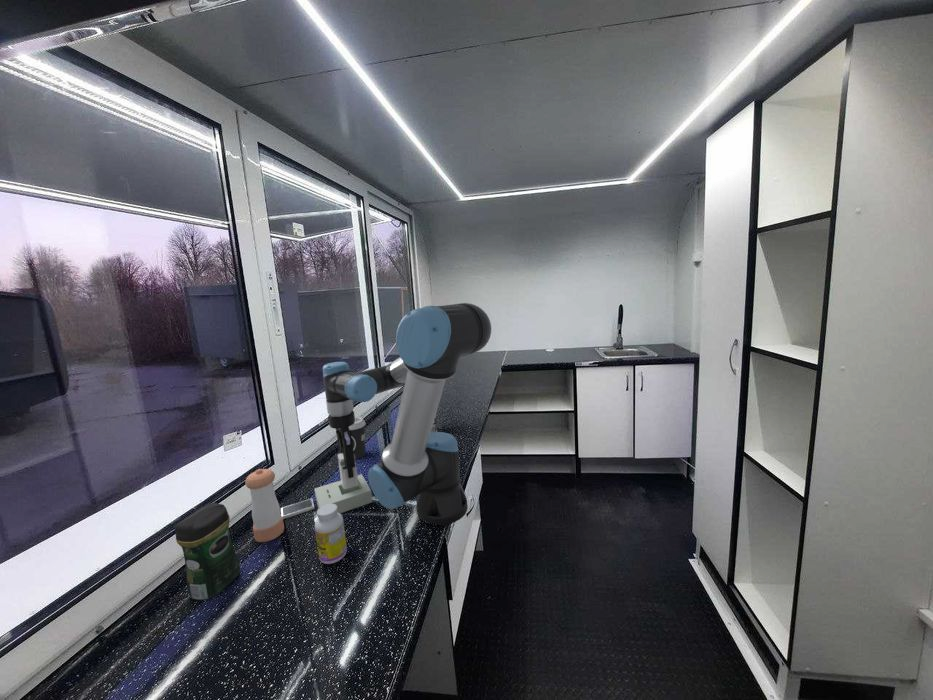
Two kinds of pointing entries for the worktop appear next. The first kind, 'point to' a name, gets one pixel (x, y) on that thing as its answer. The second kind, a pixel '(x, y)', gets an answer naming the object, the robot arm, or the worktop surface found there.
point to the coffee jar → (207, 551)
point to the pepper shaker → (264, 506)
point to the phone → (297, 508)
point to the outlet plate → (344, 495)
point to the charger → (342, 472)
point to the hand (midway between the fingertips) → (349, 482)
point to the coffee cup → (358, 437)
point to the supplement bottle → (330, 534)
